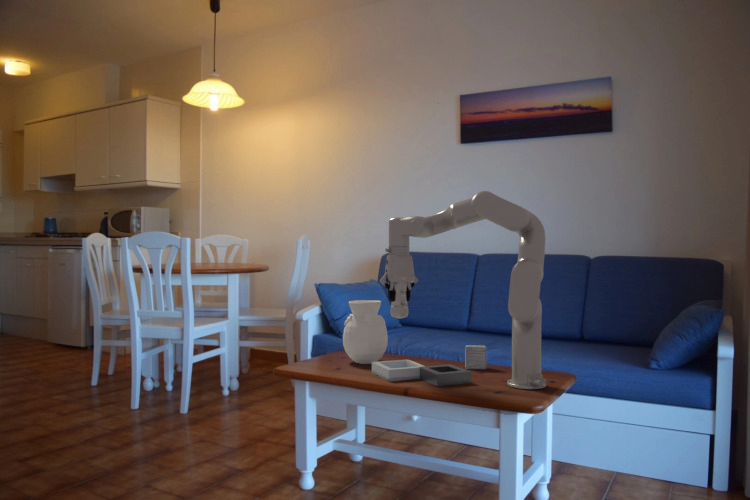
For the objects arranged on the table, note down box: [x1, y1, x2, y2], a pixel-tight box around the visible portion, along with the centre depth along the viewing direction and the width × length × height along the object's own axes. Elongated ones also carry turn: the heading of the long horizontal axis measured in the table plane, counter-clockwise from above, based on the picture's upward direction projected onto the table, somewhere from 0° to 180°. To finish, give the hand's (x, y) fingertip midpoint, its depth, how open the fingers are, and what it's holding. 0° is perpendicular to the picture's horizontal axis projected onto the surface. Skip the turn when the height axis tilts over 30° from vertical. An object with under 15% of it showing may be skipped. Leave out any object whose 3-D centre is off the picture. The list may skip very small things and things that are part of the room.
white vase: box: [342, 299, 389, 365], centre depth 237 cm, size 19×18×25 cm
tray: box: [371, 359, 426, 382], centre depth 211 cm, size 16×15×4 cm
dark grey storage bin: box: [419, 363, 472, 387], centre depth 202 cm, size 14×13×4 cm
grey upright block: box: [464, 344, 487, 370], centre depth 224 cm, size 8×4×9 cm, turn 84°
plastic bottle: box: [389, 276, 409, 320], centre depth 211 cm, size 6×7×20 cm
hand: (399, 300), depth 211 cm, fingers closed on plastic bottle, 5 cm apart
